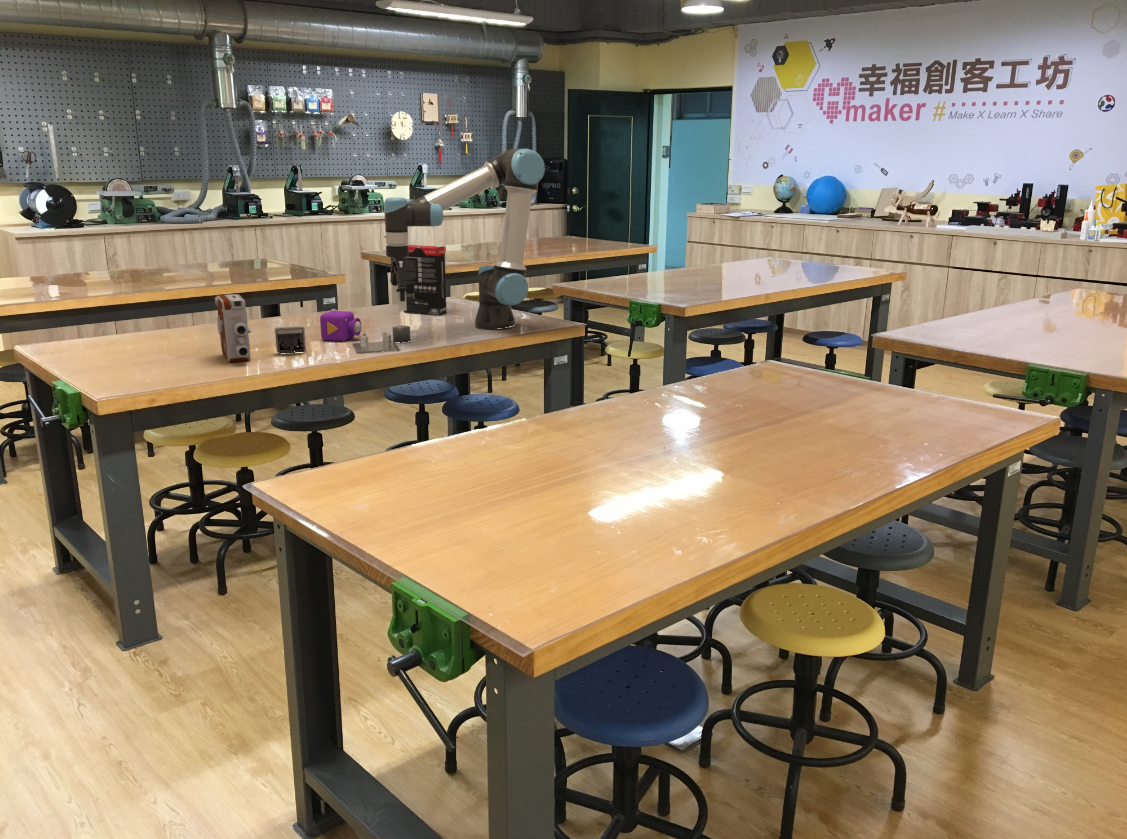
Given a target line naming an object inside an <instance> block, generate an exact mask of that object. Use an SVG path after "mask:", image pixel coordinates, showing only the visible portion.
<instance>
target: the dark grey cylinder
mask: <svg viewBox="0 0 1127 839" xmlns="http://www.w3.org/2000/svg"><path fill="white" fill-rule="evenodd" d="M391 329H392V341H394V342H400V343H399V344H403V343H402V342H408V341H410V340H411V327H410V326H409V325H396V326H392V328H391ZM410 342H411V341H410ZM408 343H409V342H408Z"/></svg>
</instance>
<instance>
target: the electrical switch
mask: <svg viewBox="0 0 1127 839" xmlns="http://www.w3.org/2000/svg"><path fill="white" fill-rule="evenodd" d="M305 328H306V327H305V326H304V325H288V326H287V325H285V326H276V327H275V328H274V335H275V336H274V337H275V344H276V346H275V347H276V352H277V353H278V352H279V353H278V354H279V355H280V353H295V352H304V351H305V352H306V351H307V345H306V335H305V334H306V333H305V330H306V329H305ZM294 351H295V352H294ZM305 352H304V353H305Z"/></svg>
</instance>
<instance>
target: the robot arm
mask: <svg viewBox="0 0 1127 839" xmlns="http://www.w3.org/2000/svg"><path fill="white" fill-rule="evenodd" d="M545 167H546V166H545V161H544V159H543V158H542V156H541V155H540V154H539V153H538V152H536V151H535V150H532V149H530V148H510V149H508V150H505V151H504V152H502V153H500V154H498V155H497V156H495V157H493V158H491V159H489V160H487V161H485V162H484V164H483V166H481V167H479V168H477V169H475V170H474V171H472V172H470V173H468V174H466V175H462V177H460V178H457V179H456V180H453V181H451V182H449V183H447V184H445V185H443V186H440V187H439V188H437V189H435V190H432V191H431V192H429V193H427V194H425V195H423V196H421V197H418V198H417V199H415V200H409V201H408V200H407V198H405V197H387V198H386V199H385V200H384V207H383V208H384V209H383V210H384V211H383V213H384V228H385V232H384V233H385V234H384V235H383V238H385V244H387V245H385V255H386V257H388V258H390V278H389V282H390V284H391V305H393V306H394V305H397V308H398V309H397V310H398V312H404V311H407V306H406V290H407V284H406V275H405V262H404V261H402V258H403V257H408V255H409V250H408V246H407V245H409V230H408V229H409V228H411V227H439V226H441V225H442V224H443V221H444V212H443V211H446V210H447V209H450V208H452V207H454V206H455V205H457V204H460V203H461V202H464V201H466V200H468V199H470V198H471V197H474V196H476V195H477V194H480V193H483V192H484V191H486V190H487V189H490V188H492V187H494V188H499V187H501V186H503V185H504V188H505V189H506V191H507V196H506V203H505V204H506V206H505V211H504V212H505V213H504V220H503V228H502V234H501V235H502V236H501V243H500V244H501V245H500V252H499V259H498V260H497V262H495V263H494V264H491V265H490V264H489V265H481V266H479V267H478V274H477V277H478V300H479V301H478V302H479V305H478V309H477V312H476V315H475V320H474V324H475V325H474V326H475V327H476V328H477V329H481V328H483V330H498V329H497V328H505V327H509V326H513V325H515V326H516V319H515V316H514V313H513V312H514V311H513V309H512V306H516V305H519V304H521V302H523V301H524V300H525V299H526V298H527V295H528V293H529V283H528V280H527V278H526V276H527V268H526V266H525V265H524V257H525V249H526V244H527V237H528V236H527V234H528V228H529V221H530V220H529V219H530V212H531V205H532V199H533V198H532V197H533V195H534V194H535V193H537V192H538V186H539V182H541V180H542V179H543V177H544V176H545V171H546V168H545Z"/></svg>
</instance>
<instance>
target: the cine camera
mask: <svg viewBox="0 0 1127 839" xmlns="http://www.w3.org/2000/svg"><path fill="white" fill-rule="evenodd" d="M214 303H215V305H216V309H217V318H216V320H217V323H216V324H217V330H218V331H217V332H218V335H219V337H220V347H221V352H222V356H223V357H224V358H225V359H226V361H227V362H228V363H234V362H235V363H236V362H245V361H250V360H251V347H250V346H251V345H250V337H249V333H250V334H251V333H252V328H251V327H248V312H247V306H246V301H245V299H244V298H243V297H242V296H241V295H240V294H236V293H235V294H233V293H232V294H218V295H216V296H215V297H214Z"/></svg>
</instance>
